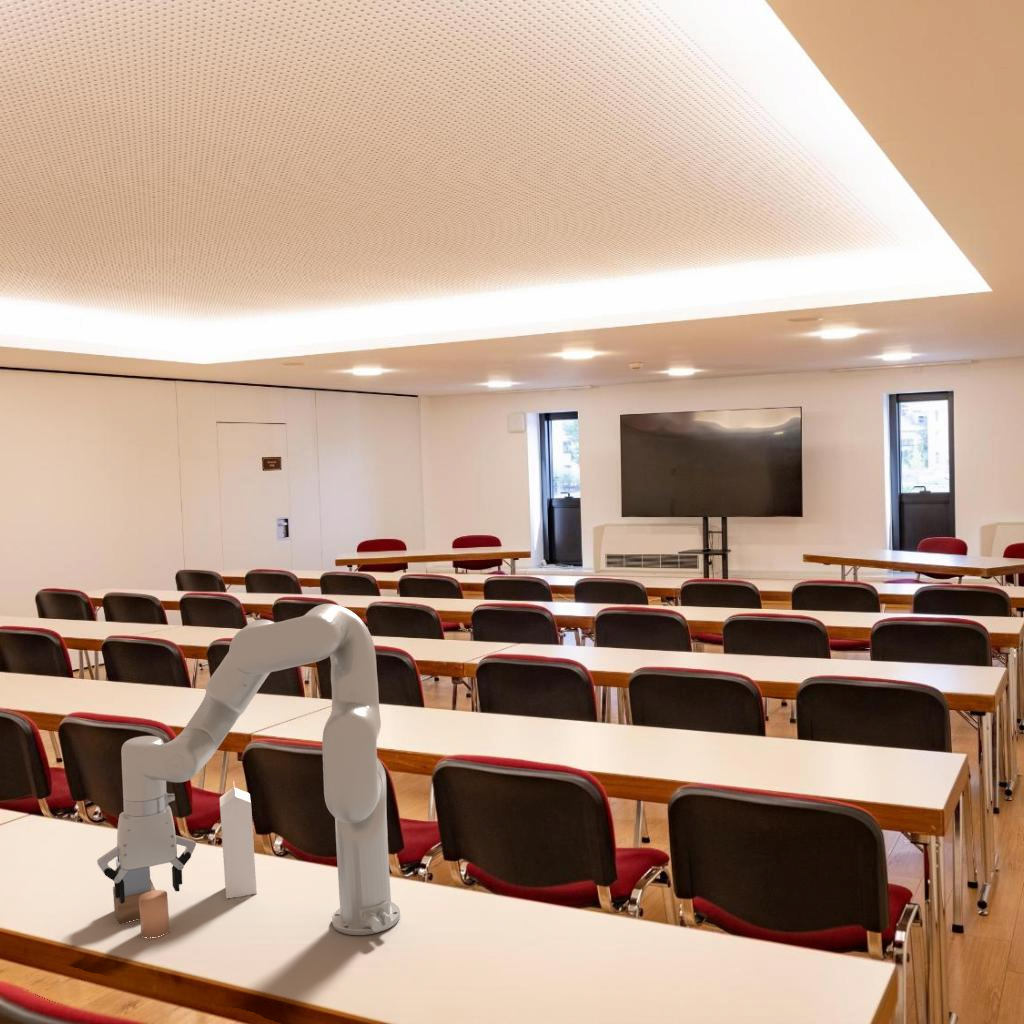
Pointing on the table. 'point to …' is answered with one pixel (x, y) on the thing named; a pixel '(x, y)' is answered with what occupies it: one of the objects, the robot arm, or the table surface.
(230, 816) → the milk
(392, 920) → the robot arm
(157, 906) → the terracotta capsule
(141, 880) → the slate blue cube
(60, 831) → the table surface
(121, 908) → the walnut base block
